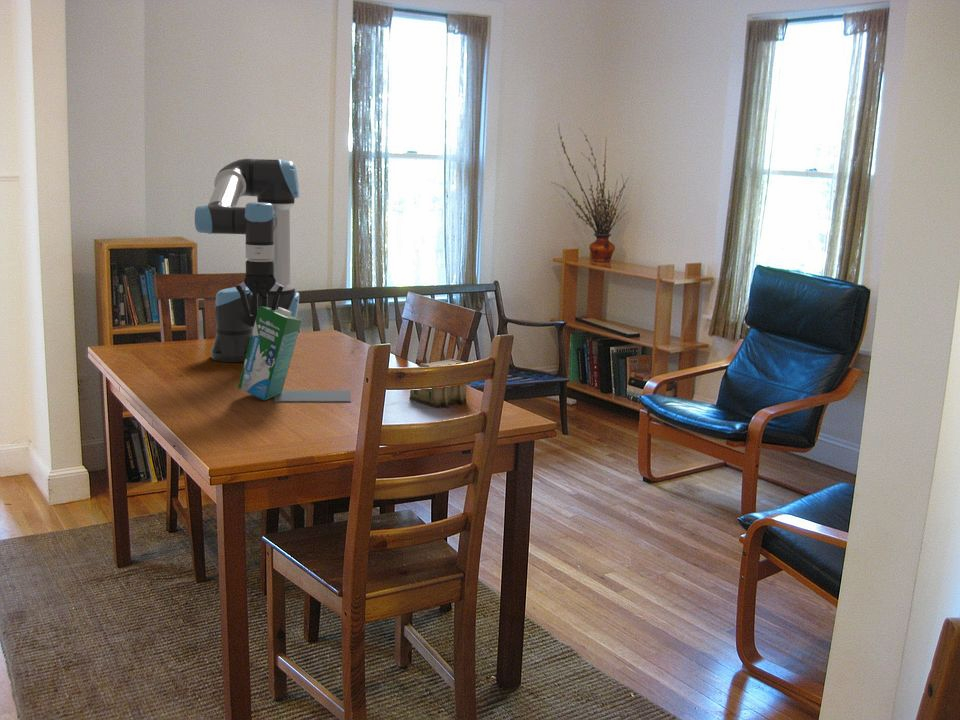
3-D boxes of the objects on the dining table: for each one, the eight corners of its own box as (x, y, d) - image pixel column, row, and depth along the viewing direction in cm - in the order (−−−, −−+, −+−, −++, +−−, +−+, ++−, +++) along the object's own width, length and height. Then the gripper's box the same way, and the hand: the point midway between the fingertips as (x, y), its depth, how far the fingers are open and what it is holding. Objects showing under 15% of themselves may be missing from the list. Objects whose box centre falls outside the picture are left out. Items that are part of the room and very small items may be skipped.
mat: (276, 391, 274) (276, 389, 274) (350, 391, 277) (350, 390, 277) (274, 402, 262) (274, 400, 262) (350, 402, 265) (350, 400, 265)
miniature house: (475, 402, 272) (477, 363, 269) (440, 410, 262) (441, 369, 259) (439, 391, 282) (441, 353, 279) (404, 398, 272) (405, 359, 269)
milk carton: (281, 393, 270) (304, 312, 262) (264, 400, 261) (287, 317, 254) (255, 381, 272) (276, 300, 264) (237, 388, 264) (259, 305, 256)
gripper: (233, 260, 254) (234, 347, 259) (283, 262, 256) (283, 347, 261) (236, 257, 262) (238, 341, 267) (284, 258, 263) (285, 342, 269)
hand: (260, 344), depth 264 cm, fingers closed
